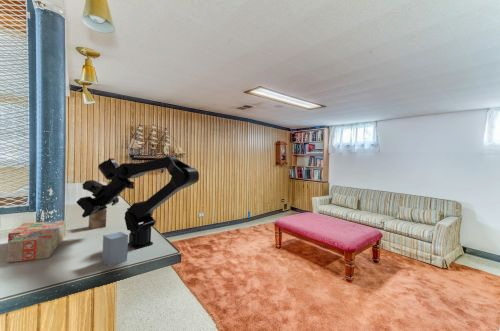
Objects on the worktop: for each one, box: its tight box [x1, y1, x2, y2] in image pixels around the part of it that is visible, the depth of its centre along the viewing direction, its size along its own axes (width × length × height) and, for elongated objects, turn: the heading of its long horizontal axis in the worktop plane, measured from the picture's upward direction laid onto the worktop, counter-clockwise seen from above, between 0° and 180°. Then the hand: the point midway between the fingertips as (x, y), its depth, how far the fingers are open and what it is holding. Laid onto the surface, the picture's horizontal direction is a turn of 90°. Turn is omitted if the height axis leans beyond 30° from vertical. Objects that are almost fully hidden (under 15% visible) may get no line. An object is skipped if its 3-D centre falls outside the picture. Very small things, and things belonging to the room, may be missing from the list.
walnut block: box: [88, 208, 108, 230], centre depth 101 cm, size 5×5×8 cm
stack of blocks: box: [7, 220, 67, 263], centre depth 76 cm, size 21×6×12 cm
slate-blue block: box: [101, 231, 129, 267], centre depth 70 cm, size 5×5×8 cm
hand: (83, 216), depth 86 cm, fingers closed
